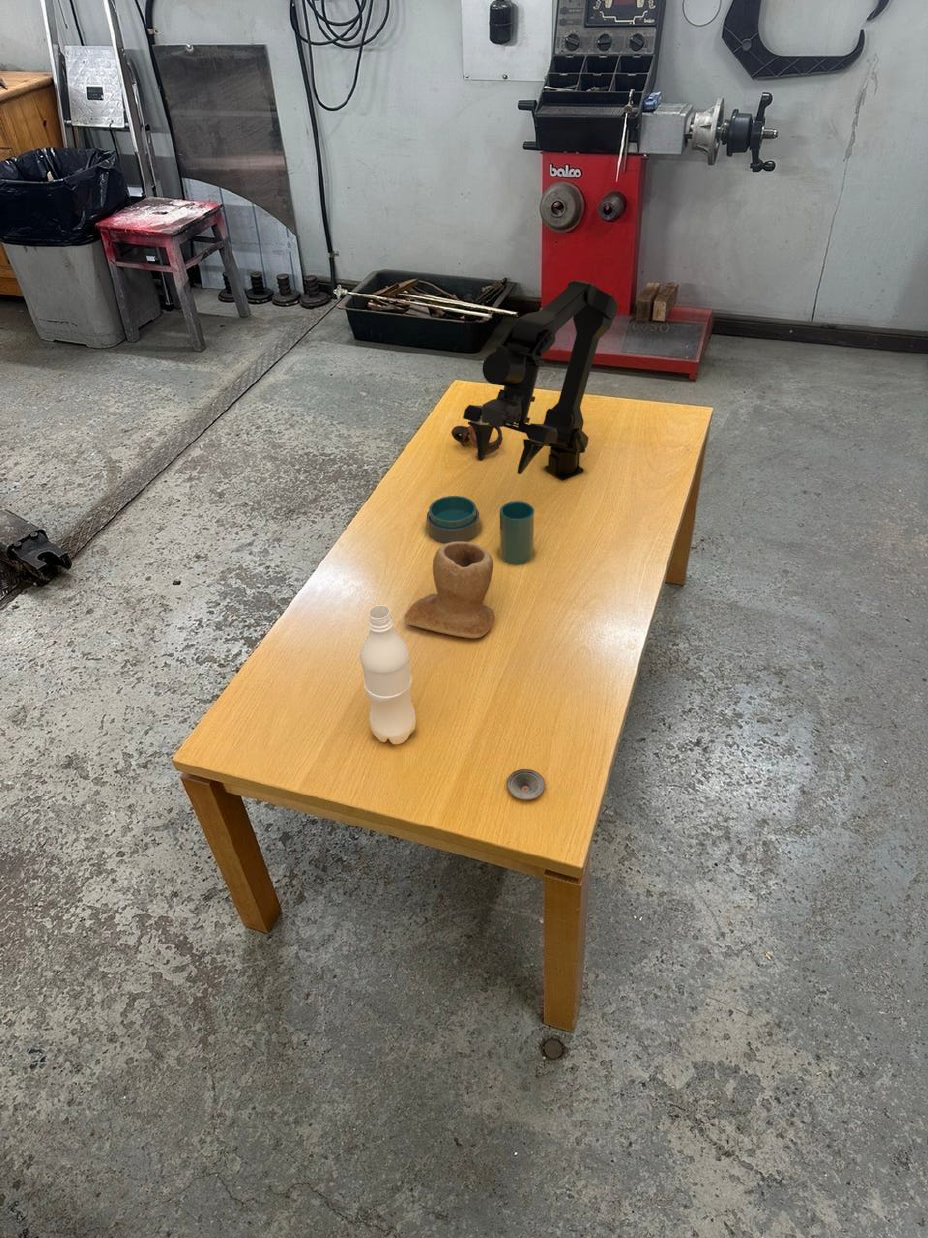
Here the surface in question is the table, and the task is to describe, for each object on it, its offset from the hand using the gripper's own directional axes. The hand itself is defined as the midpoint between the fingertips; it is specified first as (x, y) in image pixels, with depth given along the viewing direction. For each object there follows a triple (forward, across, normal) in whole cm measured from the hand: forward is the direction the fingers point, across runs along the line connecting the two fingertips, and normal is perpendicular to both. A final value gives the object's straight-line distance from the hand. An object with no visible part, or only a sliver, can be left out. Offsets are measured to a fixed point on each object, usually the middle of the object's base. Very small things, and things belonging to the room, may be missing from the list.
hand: (499, 467), depth 168 cm
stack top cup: (+15, -7, 0) cm, 17 cm away
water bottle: (+37, +18, -45) cm, 61 cm away
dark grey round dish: (+36, +41, -43) cm, 70 cm away
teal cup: (+15, +8, 0) cm, 18 cm away
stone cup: (+26, +10, -20) cm, 34 cm away
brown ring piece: (+2, -22, +27) cm, 35 cm away
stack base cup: (+15, -7, 0) cm, 17 cm away
